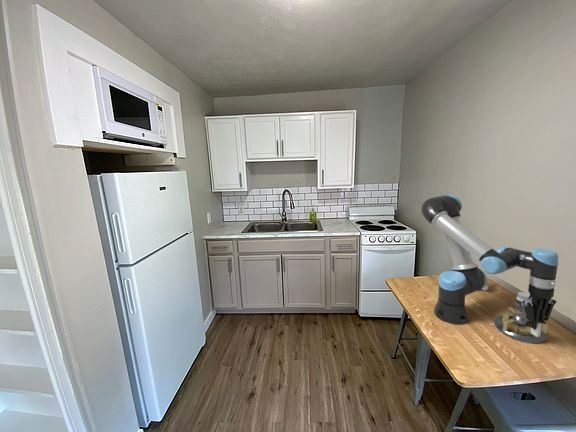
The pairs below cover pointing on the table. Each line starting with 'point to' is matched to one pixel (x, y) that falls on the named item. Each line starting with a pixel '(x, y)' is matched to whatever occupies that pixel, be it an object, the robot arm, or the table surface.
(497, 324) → the hub plate
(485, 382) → the table surface
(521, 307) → the pill bottle
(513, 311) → the taped hex socket base
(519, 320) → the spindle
